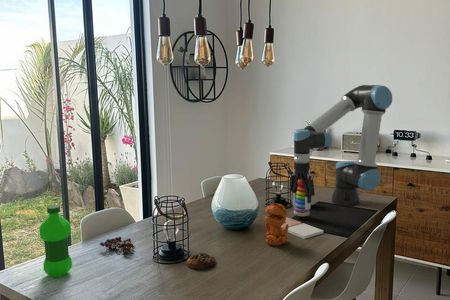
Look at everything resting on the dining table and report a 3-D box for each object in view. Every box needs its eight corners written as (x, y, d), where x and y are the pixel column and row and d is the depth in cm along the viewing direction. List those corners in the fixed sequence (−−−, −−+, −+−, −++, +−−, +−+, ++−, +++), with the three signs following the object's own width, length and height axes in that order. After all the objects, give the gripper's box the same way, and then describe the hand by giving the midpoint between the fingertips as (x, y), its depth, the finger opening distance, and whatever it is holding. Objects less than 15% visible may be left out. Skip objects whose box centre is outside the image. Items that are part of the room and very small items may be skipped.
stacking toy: (305, 217, 208) (305, 180, 205) (290, 215, 213) (290, 178, 210) (312, 213, 215) (313, 176, 211) (298, 210, 219) (298, 174, 216)
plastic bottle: (79, 269, 159) (74, 203, 155) (62, 282, 148) (57, 212, 144) (55, 266, 161) (49, 201, 157) (36, 279, 151) (30, 210, 147)
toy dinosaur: (256, 243, 182) (257, 201, 179) (272, 236, 190) (272, 196, 187) (278, 250, 174) (279, 207, 172) (293, 242, 182) (294, 201, 179)
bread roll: (206, 272, 155) (204, 258, 155) (181, 270, 160) (179, 257, 160) (221, 262, 164) (220, 249, 164) (197, 260, 170) (196, 248, 170)
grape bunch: (94, 251, 172) (95, 240, 171) (112, 241, 186) (113, 231, 185) (128, 260, 168) (129, 248, 168) (143, 249, 182) (145, 238, 182)
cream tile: (303, 225, 203) (303, 223, 203) (323, 233, 193) (323, 230, 193) (285, 231, 196) (285, 228, 196) (304, 238, 186) (304, 236, 186)
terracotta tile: (283, 218, 214) (283, 216, 214) (301, 224, 204) (301, 222, 204) (265, 223, 207) (265, 220, 207) (282, 230, 197) (282, 227, 197)
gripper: (281, 159, 216) (281, 203, 219) (311, 165, 199) (311, 213, 203) (292, 157, 220) (292, 201, 224) (323, 163, 203) (322, 210, 207)
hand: (301, 207), depth 213 cm, fingers closed on stacking toy, 7 cm apart
